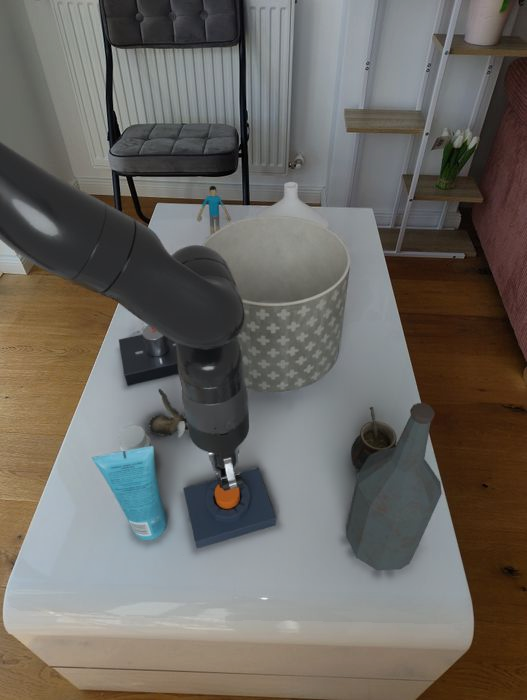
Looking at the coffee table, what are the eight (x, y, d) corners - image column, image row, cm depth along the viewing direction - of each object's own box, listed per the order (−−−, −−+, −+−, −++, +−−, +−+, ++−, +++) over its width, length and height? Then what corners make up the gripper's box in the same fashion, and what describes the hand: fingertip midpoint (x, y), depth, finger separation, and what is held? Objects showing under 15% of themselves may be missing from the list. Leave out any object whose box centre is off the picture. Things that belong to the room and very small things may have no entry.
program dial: (171, 353, 98) (168, 334, 95) (148, 359, 97) (144, 340, 94) (166, 338, 101) (163, 319, 98) (144, 343, 100) (140, 325, 97)
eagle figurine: (209, 407, 91) (162, 388, 92) (202, 404, 84) (152, 384, 85) (192, 447, 90) (145, 428, 91) (184, 448, 83) (133, 427, 84)
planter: (219, 312, 111) (209, 213, 94) (336, 317, 109) (347, 217, 93) (200, 403, 94) (183, 301, 77) (339, 410, 92) (353, 308, 75)
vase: (317, 288, 116) (322, 212, 103) (240, 274, 121) (236, 199, 107) (334, 244, 129) (341, 171, 115) (264, 233, 133) (263, 161, 119)
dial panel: (127, 386, 97) (124, 374, 95) (121, 350, 104) (118, 338, 101) (200, 369, 100) (199, 357, 97) (190, 335, 106) (188, 323, 104)
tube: (171, 504, 80) (150, 429, 66) (177, 532, 76) (156, 461, 63) (122, 518, 78) (90, 445, 64) (126, 548, 75) (93, 477, 61)
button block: (196, 548, 75) (193, 536, 72) (184, 495, 81) (181, 481, 78) (275, 525, 77) (275, 512, 74) (258, 474, 83) (257, 460, 80)
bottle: (408, 506, 79) (458, 373, 58) (424, 571, 72) (488, 447, 51) (341, 508, 79) (366, 376, 57) (350, 573, 72) (383, 451, 50)
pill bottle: (121, 474, 83) (110, 445, 77) (133, 450, 87) (123, 420, 81) (149, 481, 82) (139, 451, 77) (160, 456, 86) (152, 425, 80)
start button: (218, 512, 75) (217, 506, 73) (213, 490, 77) (212, 484, 76) (242, 505, 75) (242, 499, 74) (236, 484, 78) (235, 477, 77)
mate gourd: (362, 490, 81) (370, 454, 74) (339, 452, 86) (345, 415, 79) (402, 475, 83) (414, 438, 76) (377, 438, 88) (387, 401, 80)
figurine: (232, 236, 132) (228, 181, 121) (232, 244, 130) (228, 188, 119) (200, 238, 131) (193, 183, 121) (199, 245, 129) (193, 190, 119)
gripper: (174, 373, 65) (191, 451, 77) (196, 459, 56) (211, 532, 68) (232, 359, 66) (239, 438, 78) (262, 442, 57) (265, 516, 69)
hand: (226, 482), depth 73 cm, fingers closed
